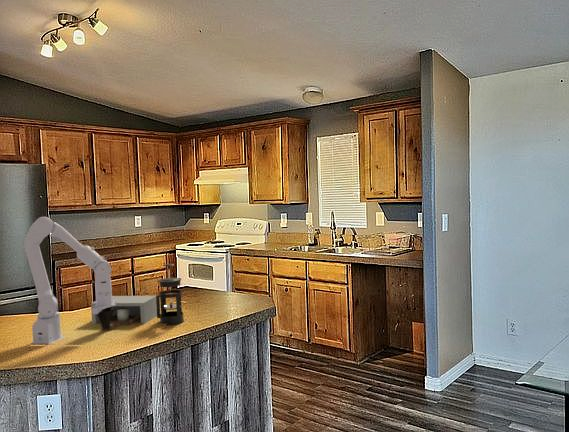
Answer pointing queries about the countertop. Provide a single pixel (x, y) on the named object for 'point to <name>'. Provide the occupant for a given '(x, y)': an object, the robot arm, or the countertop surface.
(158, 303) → the french press
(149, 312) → the large grey box
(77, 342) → the countertop surface
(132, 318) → the tray
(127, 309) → the cream rounded block
